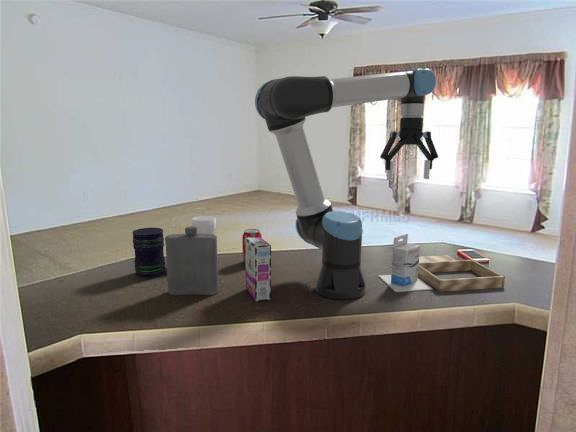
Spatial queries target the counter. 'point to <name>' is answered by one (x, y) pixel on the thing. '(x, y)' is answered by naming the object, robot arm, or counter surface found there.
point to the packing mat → (413, 286)
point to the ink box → (404, 261)
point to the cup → (205, 224)
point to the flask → (192, 263)
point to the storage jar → (149, 253)
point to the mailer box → (449, 264)
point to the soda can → (248, 234)
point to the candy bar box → (258, 268)
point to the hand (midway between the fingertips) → (408, 179)
